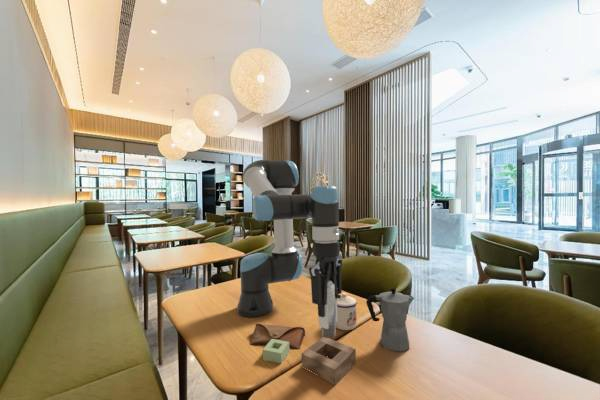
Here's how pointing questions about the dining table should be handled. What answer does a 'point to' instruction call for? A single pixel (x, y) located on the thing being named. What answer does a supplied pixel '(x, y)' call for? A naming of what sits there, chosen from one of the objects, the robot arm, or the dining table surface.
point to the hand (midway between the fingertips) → (328, 323)
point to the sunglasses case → (278, 335)
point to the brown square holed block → (326, 367)
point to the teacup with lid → (346, 312)
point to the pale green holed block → (276, 351)
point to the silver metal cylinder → (330, 311)
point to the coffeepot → (392, 318)
